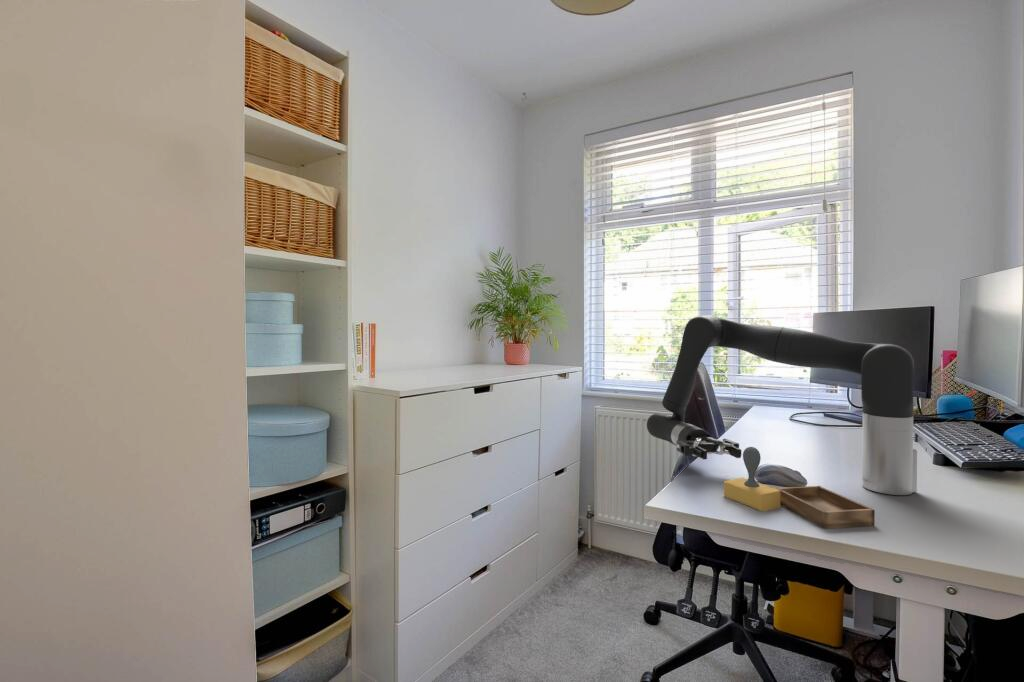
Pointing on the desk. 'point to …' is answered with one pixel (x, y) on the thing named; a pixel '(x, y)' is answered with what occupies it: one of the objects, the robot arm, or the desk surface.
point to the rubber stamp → (752, 486)
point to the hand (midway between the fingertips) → (722, 454)
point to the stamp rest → (826, 507)
